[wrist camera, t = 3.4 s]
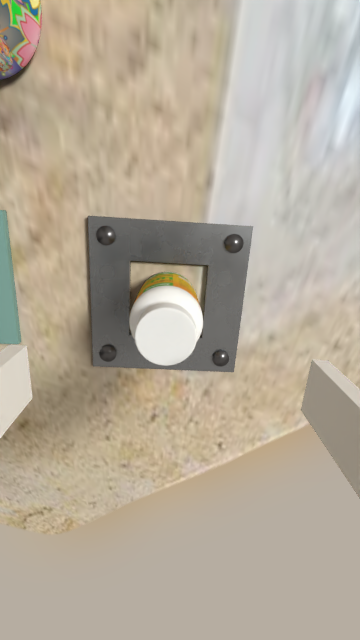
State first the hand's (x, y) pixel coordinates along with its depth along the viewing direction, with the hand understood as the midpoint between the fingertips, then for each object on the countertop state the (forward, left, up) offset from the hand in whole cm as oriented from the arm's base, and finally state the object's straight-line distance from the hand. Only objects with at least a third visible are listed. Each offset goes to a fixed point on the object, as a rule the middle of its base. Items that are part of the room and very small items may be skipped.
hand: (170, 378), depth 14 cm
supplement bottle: (0, 0, -15) cm, 15 cm away
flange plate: (0, 0, -15) cm, 15 cm away
